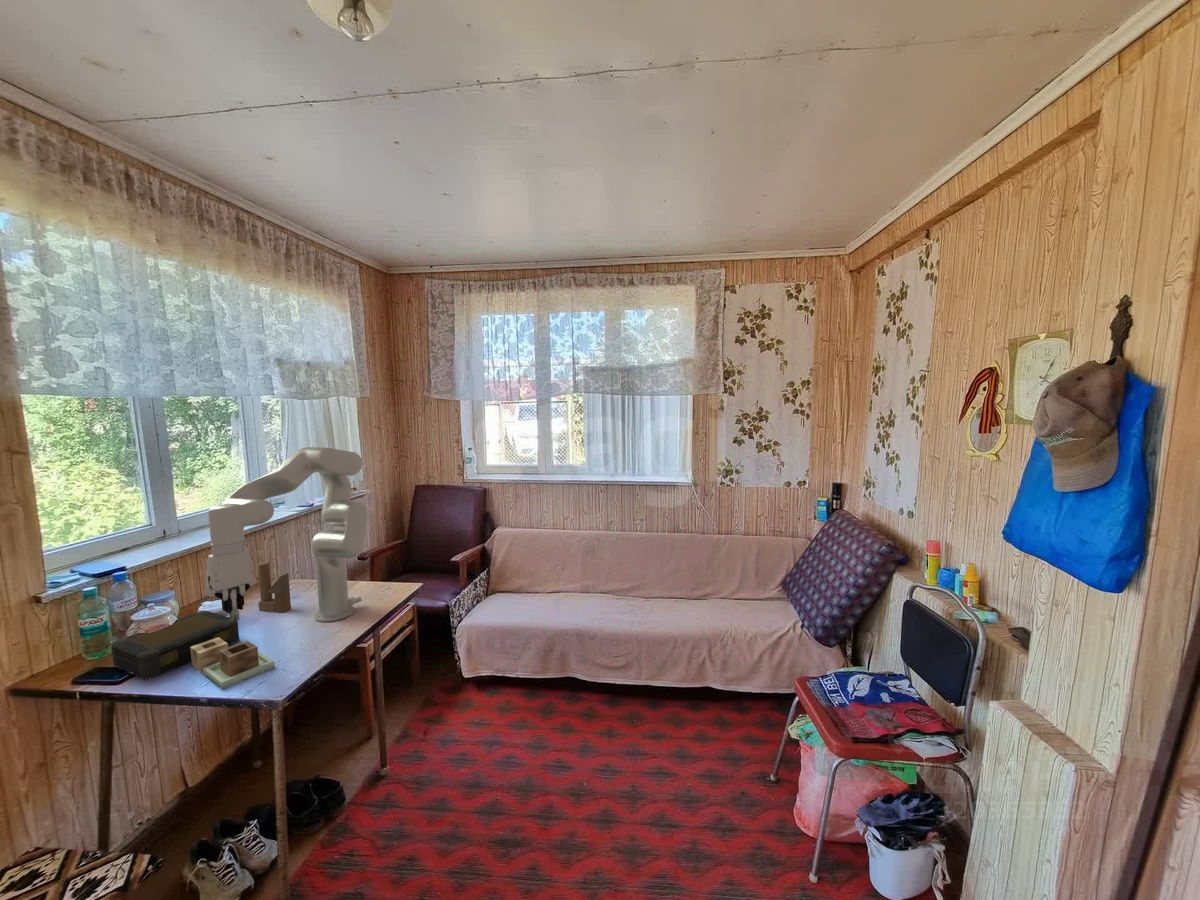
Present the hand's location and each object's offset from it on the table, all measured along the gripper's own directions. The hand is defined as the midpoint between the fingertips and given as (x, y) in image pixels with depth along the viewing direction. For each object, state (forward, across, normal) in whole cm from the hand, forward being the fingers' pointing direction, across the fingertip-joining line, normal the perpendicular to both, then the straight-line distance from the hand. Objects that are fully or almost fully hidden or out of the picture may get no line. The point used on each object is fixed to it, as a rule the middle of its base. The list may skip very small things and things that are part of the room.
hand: (233, 609), depth 139 cm
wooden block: (+19, -25, -37) cm, 49 cm away
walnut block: (+18, 0, 0) cm, 18 cm away
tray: (+19, 0, 0) cm, 19 cm away
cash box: (+19, +6, -28) cm, 35 cm away
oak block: (+19, +3, -12) cm, 23 cm away
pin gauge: (+3, 0, 0) cm, 3 cm away
